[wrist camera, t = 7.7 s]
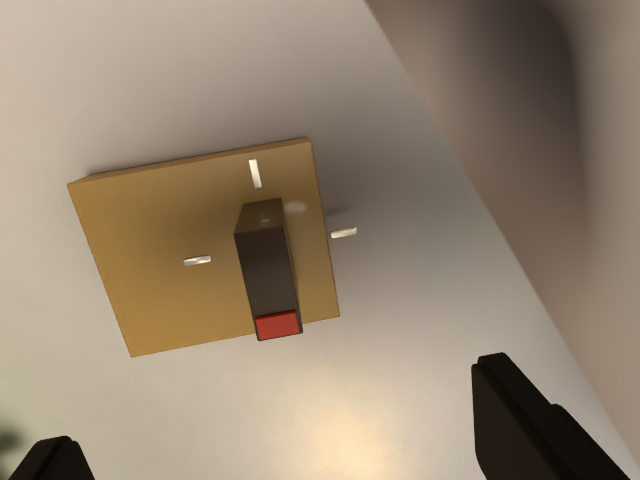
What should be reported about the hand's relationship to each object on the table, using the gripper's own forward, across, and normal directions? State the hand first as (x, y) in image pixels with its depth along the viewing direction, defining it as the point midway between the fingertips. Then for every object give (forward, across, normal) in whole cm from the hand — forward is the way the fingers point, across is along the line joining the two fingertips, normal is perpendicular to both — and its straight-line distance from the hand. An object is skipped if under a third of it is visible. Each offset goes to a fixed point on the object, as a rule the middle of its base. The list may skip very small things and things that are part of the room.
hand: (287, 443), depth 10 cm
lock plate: (+15, +4, -1) cm, 16 cm away
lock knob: (+13, +1, -1) cm, 13 cm away
